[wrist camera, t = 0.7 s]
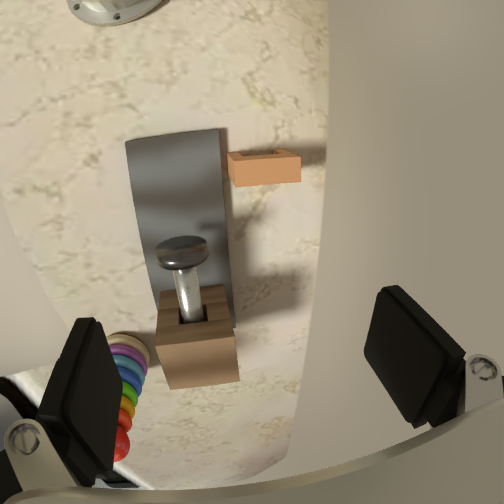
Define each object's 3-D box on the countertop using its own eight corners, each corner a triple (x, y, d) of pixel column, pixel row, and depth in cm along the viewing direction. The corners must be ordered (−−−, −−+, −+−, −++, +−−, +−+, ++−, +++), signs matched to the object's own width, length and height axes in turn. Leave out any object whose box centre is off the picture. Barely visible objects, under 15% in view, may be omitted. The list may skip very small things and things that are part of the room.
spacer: (226, 152, 33) (233, 161, 28) (283, 148, 34) (300, 156, 28) (228, 174, 34) (235, 187, 29) (283, 170, 35) (301, 181, 30)
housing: (126, 141, 30) (98, 155, 20) (217, 129, 31) (230, 137, 22) (164, 332, 42) (162, 393, 32) (234, 323, 43) (248, 382, 33)
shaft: (157, 239, 32) (152, 261, 27) (205, 232, 32) (208, 254, 28) (181, 349, 39) (182, 378, 34) (220, 344, 39) (225, 373, 35)
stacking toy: (149, 333, 41) (141, 449, 25) (151, 371, 45) (148, 476, 28) (96, 328, 39) (68, 438, 23) (103, 366, 43) (86, 469, 26)
